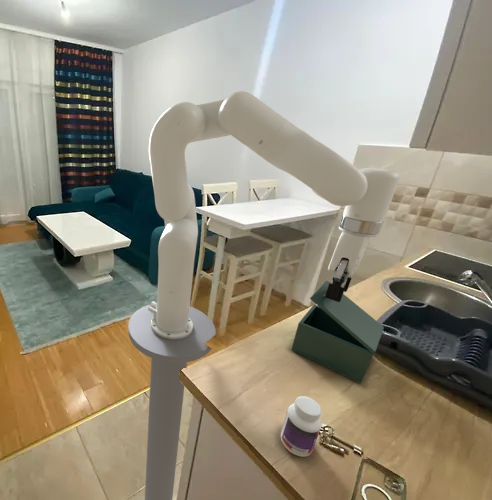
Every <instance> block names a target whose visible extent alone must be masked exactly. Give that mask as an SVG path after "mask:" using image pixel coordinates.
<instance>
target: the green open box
mask: <svg viewBox="0 0 492 500" xmlns="http://www.w3.org/2000/svg"><path fill="white" fill-rule="evenodd" d="M290 350H291V351H292V352H295V353H297V354H299V355H301V356H303V357H304V358H307V359H309V360H310V361H313V362H315V363H317V364H319V365H321V366H323V367H325V368H328V369H329V370H331V371H333V372H335V373H338V374H339V375H341V376H344V377H346V378H348V379H349V380H352V381H354V382H357V383H358V384H360V385H361V384H362V383H363V380H364V378H365V375H366V373H367V371H368V368H369V366H370V363H371V361H372V358H373V356H374V354H375V352H374V353H372V352H370V351H369V350H368V349H367V348H366V347H365V346H364V345H362V344H361V343H360V342H359V341H358V340H357V339H355V338H354V337H353V336H352V335H351V334H350V333H349V332H347V331H346V330H345V329H344V328H343V327H342V326H341V325H339V324H338V323H337V322H336V321H335V320H334V319H333V318H331V317H330V316H329V315H328V314H327V313H326V312H325V311H323V310H322V309H321V308H320V307H319V306H318V305H317V304H313V305H312V306H311V307H310V309H309V310H308V311H307V312H306V313H305V315H303V316H302V318H301V319H300V321H299V322H298V324H297V328H296V332H295V335H294V339H293V342H292V346H291V349H290Z"/></svg>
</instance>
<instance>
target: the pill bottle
mask: <svg viewBox="0 0 492 500" xmlns="http://www.w3.org/2000/svg"><path fill="white" fill-rule="evenodd" d="M321 415H322V407H321V406H320V404H319V402H317V401H316V400H315V399H313V398H311V397H309V396H305V395H300V396H297V397H296V399H295V401H294V403H292V404H290V405H289V406H288V408H287V411H286V415H285V417H284V421H283V425H282V428H281V431H280V440H281V443H282V445H283V446H284V448H285V449H286V450H288V452H290V453H291V454H292V455H295V456H297V457H302V458H304V457H308V456H310V455H311V454H312V453H313V450H314V448H315V445H316V442H317V439H318V437H319V434H320V432H321V429H322V424H323V423H322V419H321Z"/></svg>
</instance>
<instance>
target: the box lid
mask: <svg viewBox="0 0 492 500" xmlns="http://www.w3.org/2000/svg"><path fill="white" fill-rule="evenodd" d="M343 280H344V279H343ZM330 282H331V281H329V280H327V279H326V280H325V281H323V282H322V284H320V286H319V287H318V288H317V289H316V291H315V292H314V293H313V294H312V295H311V296H310V297H309V300H310V301H312V302H313V303H314V305H317V306H319V307H320V308H321V309H322V310H323V311H325V312H326V313H327V314H328V315H329V316H330V317H331V318H333V319H334V320H335V321H336V322H337V323H338V324H339V325H341V326H342V327H343V328H344V329H345V330H346V331H347V332H349V333H350V334H351V335H352V336H353V337H354V338H355V339H357V340H358V341H359V342H360V343H361V344H362V345H364V346H365V347H366V348H367V349H368V350H369V351H370V352H372V353H374V354H375V353H376V352H377V349H378V346H379V343H380V340H381V338H382V334H383V331H384V329H385V326H383V325H382V324H381V323H380V322H379V321H377V320H376V319H375V318H374V317H373V316H371V315H370V314H369V313H368V312H367V311H365V309H362V308H361V306H359V305H358V304H356V302H354V301H353V300H351V299H350V298H349V297H348V296H347V295H346V294H345V293H343V296H342V298H341V301H340V302H337V301H334V300H331V299H328V298H326V297H325V295H326V292H327V289H328V286H329V283H330Z"/></svg>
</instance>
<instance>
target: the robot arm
mask: <svg viewBox="0 0 492 500" xmlns="http://www.w3.org/2000/svg"><path fill="white" fill-rule="evenodd" d="M228 136H232V137H233V138H235V139H236V140H237V141H239V142H240V143H241V144H243V145H244V146H246V147H247V148H248V149H250V150H251V151H252V152H254V153H255V154H257V155H258V156H259V157H261V158H262V159H263V160H265V161H266V162H267V163H269V164H271V165H272V166H273V167H275V168H277V169H279V170H281V171H283V172H285V173H287V174H289V175H290V176H292V177H293V178H295V179H297V180H298V181H300V182H301V183H303V184H304V185H305V186H307V187H308V188H310V189H311V191H312V192H313V193H314V194H315V195H316V196H318V197H319V198H321V199H323V200H325V201H327V202H328V203H329V204H331V205H333V206H338V207H344V209H343V212H342V214H341V215H342V216H341V219H340V222H339V225H338V230H340V231H341V232H340V233H341V234H340V235H339V237H338V239H337V243H336V244H335V248H334V251H333V253H332V255H331V259H330V261H329V264H328V267H327V270H328V272H333V274H332V277H331V280H330V281H329V282H330V283H329V286H328V289H327V292H326V295H325V297H326V298H328V299H331V300H334V301H337V302H340V301H341V298H342V296H343V294H345V293H346V292H347V291H348V290H349V287H350V284H351V281H352V280H353V277H352V276H353V275H354V274H355V272H356V271H357V269H358V267H359V266H360V264H361V262H362V260H363V257H364V255H365V253H366V251H367V248H368V245H369V242H370V240H371V238H376V237H379V234H380V232H381V229H382V228H383V224H384V221H385V219H386V216H387V214H388V211H389V209H390V205H391V203H392V200H393V198H394V196H395V193H396V190H397V187H398V185H399V182H400V178H401V177H400V173H399V172H398V171H396V170H393V169H387V168H377V167H363V168H359V167H357V166H355V165H354V164H353V163H351V162H350V161H349V160H347V159H346V158H345V157H343V156H341V155H340V154H339V153H338V152H337V151H334V150H333V149H331V148H330V147H328V146H327V145H325V144H323V143H322V142H321V141H320V140H319V141H318V140H317V139H315V138H314V137H313V136H311V135H310V134H309V133H307V132H306V131H304V130H303V129H301V128H300V127H298V126H297V125H295V124H294V123H292V122H291V121H289V120H288V119H286V118H285V117H283V116H282V115H281V114H279V113H278V112H277V111H275V110H274V109H273V108H272V107H270V106H269V105H267V104H266V103H265V102H263V101H262V100H261V99H259V98H258V97H257V96H255V95H254V94H251V93H250V92H248V91H243V90H240V91H239V90H238V91H235V92H232V93H231V94H229V96H227V97H225V98H224V99H220V100H216V101H212V102H206V103H200V104H195V103H194V102H189V101H182V102H178V103H176V104H173V105H172V106H170V107H169V108H167V110H165V111H164V112H163V113H162V114H161V115H160V116H159V118H158V119H157V120H156V122H155V124H154V125H153V128H152V130H151V131H150V136H149V142H148V156H149V164H150V171H151V179H152V181H151V182H152V187H153V194H154V204H155V209H156V211H157V214H158V215H159V217H160V218H162V220H163V221H164V229H163V232H162V233H161V235H160V238H159V241H158V247H157V256H158V271H157V272H158V273H157V297H156V302H155V301H151V303H150V304H149V305H150V306H151V307H149V308H148V310H149V311H150V312H152V313H153V314H154V316H153V318H152V320H151V328H152V330H153V331H154V332H155V333H156V334H157V335H159V336H161V337H163V338H166V339H182V338H185V337H187V336H189V335H190V334H191V332H192V330H193V323H192V321H191V319H190V318H189V308H190V306H191V297H192V287H193V279H194V269H195V268H194V267H195V259H196V251H197V245H198V237H199V226H198V218H197V217H198V216H197V208H196V207H197V206H196V197H195V192H194V188H193V187H192V186H191V184H190V183H189V182H188V174H187V163H186V154H185V152H186V149H187V146H188V145H189V144H191V143H196V142H200V141H201V142H202V141H206V140H212V139H219V138H224V137H228ZM343 279H344V280H343Z"/></svg>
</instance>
